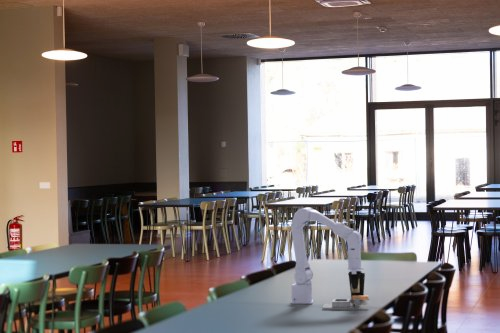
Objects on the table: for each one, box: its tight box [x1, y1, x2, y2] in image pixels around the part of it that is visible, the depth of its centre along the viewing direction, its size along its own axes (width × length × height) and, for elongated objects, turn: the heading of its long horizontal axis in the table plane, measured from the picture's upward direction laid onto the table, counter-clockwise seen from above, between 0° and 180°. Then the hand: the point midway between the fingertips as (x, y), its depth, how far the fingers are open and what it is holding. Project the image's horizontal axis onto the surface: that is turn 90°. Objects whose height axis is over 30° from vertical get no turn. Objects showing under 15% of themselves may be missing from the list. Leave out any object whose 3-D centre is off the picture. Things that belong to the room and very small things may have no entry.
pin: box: [351, 295, 369, 301], centre depth 350 cm, size 7×2×2 cm, turn 80°
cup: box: [348, 272, 366, 300], centre depth 372 cm, size 8×8×12 cm
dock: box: [322, 297, 361, 311], centre depth 352 cm, size 16×10×5 cm, turn 80°
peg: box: [350, 281, 360, 293], centre depth 359 cm, size 4×4×7 cm
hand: (355, 287), depth 359 cm, fingers closed on peg, 4 cm apart
